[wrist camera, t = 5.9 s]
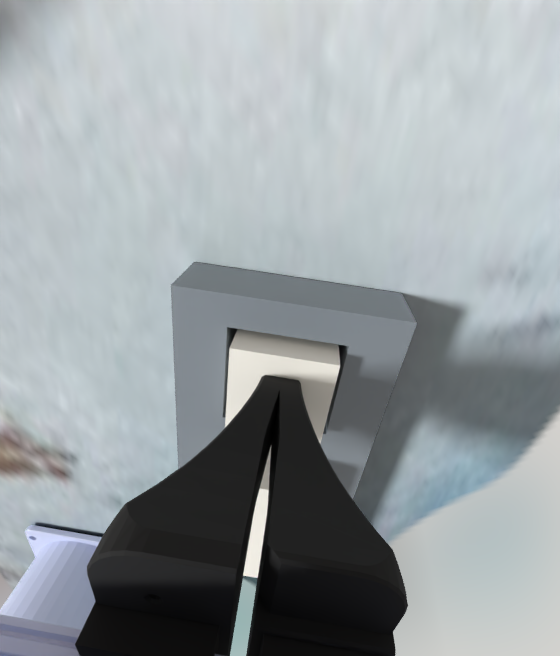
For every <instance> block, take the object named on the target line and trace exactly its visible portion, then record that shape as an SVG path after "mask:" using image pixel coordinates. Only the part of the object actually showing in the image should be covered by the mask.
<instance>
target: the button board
mask: <svg viewBox="0 0 560 656" xmlns="http://www.w3.org/2000/svg"><path fill="white" fill-rule="evenodd" d="M171 297H172V322H173V347H174V371H175V396H176V420H177V445H178V469H179V468H181V467H182V466H183V465H185V464H186V463H187V462H188V461H190V460H191V459H192V458H193V457H195V456H196V455H197V454H198V453H199V452H200V451H201V450H203V449H204V448H205V447H206V446H207V445H208V444H209V443H210V442H211V441H212V440H213V439H215V438H216V437H217V436H218V435H219V434H220V433H221V431H222V430H223V429H224V428H225V419H226V401H227V383H228V365H229V348H230V346H231V343H232V341H233V339H234V336H235V334H236V332H237V329H242V330H249V331H255V332H262V333H268V334H275V335H281V336H287V337H294V338H300V339H307V340H313V341H319V342H326V343H332V344H338V345H339V356H340V369H339V373H338V377H337V381H336V385H335V389H334V392H333V396H332V400H331V404H330V408H329V412H328V416H327V420H326V424H325V428H324V432H323V436H322V439H321V443H320V445H321V447H322V449H323V451H324V453H325V455H326V457H327V459H328V461H329V463H330V464H331V466H332V468H333V470H334V471H335V473H336V475H337V476H338V478H339V480H340V481H341V483H342V484H343V486H344V487H345V489H346V490H347V492H348V493H349V495H350V496H351V498H352V499H353V498H354V495H355V492H356V490H357V487H358V484H359V481H360V479H361V476H362V473H363V470H364V468H365V465H366V462H367V459H368V457H369V454H370V451H371V448H372V446H373V443H374V440H375V438H376V435H377V432H378V429H379V427H380V424H381V421H382V418H383V416H384V413H385V410H386V407H387V405H388V402H389V399H390V396H391V394H392V391H393V388H394V385H395V383H396V380H397V377H398V374H399V372H400V369H401V366H402V363H403V361H404V358H405V355H406V352H407V350H408V347H409V344H410V342H411V339H412V336H413V333H414V331H415V328H416V325H417V321H416V319H415V318H414V316H413V314H412V312H411V310H410V308H409V306H408V304H407V302H406V300H405V298H404V296H403V295H402V293H397V292H391V291H384V290H377V289H371V288H364V287H357V286H351V285H344V284H338V283H331V282H324V281H318V280H311V279H304V278H298V277H291V276H284V275H278V274H271V273H265V272H258V271H251V270H245V269H238V268H231V267H225V266H218V265H211V264H205V263H198V262H194V263H193V264H192V265H191V266H190V267H189V268H188V269H187V270H186V271H185V272H184V273H183V274H182V275H181V276H180V277H179V278H178V279H177V280H176V281H175V282H174V283H173V284H172V285H171Z"/></svg>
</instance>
